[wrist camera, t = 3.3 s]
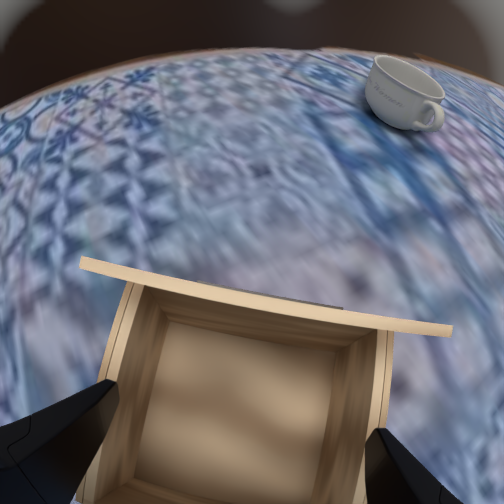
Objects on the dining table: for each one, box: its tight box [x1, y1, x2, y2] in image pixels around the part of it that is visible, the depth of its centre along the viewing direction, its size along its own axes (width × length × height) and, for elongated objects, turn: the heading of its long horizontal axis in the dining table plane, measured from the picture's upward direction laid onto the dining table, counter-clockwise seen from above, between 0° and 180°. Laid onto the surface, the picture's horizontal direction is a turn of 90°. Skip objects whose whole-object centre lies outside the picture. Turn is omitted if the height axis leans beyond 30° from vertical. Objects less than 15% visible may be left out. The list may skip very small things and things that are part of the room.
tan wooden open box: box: [75, 281, 394, 504], centre depth 16 cm, size 14×15×8 cm
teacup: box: [365, 55, 445, 132], centre depth 34 cm, size 14×11×8 cm
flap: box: [79, 256, 453, 337], centre depth 12 cm, size 7×12×1 cm
